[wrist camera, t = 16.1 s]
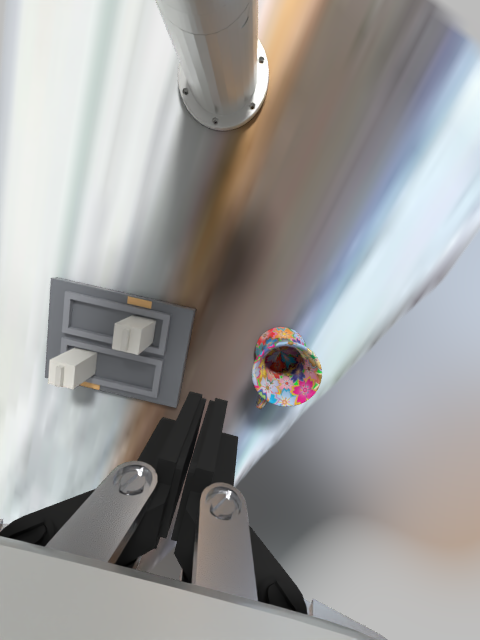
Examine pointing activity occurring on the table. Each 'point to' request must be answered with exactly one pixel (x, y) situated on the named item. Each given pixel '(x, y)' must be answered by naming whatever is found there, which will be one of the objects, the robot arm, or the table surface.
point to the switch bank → (97, 335)
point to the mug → (284, 369)
